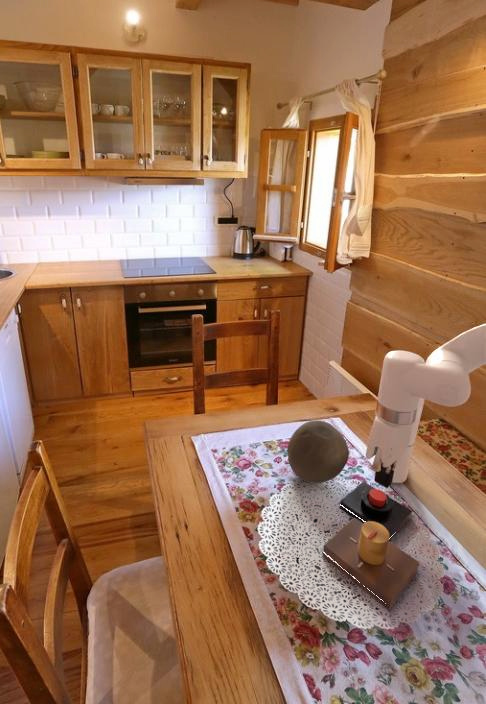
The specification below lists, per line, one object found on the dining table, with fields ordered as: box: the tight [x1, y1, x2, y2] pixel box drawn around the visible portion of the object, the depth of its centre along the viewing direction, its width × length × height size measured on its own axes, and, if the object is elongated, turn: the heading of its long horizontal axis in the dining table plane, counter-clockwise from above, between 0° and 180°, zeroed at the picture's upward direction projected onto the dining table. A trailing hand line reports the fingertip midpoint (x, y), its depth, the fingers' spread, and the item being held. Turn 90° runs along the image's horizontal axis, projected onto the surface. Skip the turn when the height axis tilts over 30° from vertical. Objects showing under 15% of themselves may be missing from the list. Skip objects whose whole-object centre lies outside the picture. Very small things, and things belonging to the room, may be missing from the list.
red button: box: [368, 488, 387, 507], centre depth 90 cm, size 4×4×2 cm
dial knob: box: [357, 521, 390, 565], centre depth 78 cm, size 5×5×6 cm
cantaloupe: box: [286, 419, 350, 484], centre depth 100 cm, size 14×14×15 cm
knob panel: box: [321, 518, 420, 611], centre depth 79 cm, size 14×11×3 cm
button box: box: [338, 481, 413, 542], centre depth 91 cm, size 12×10×4 cm
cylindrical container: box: [392, 397, 426, 484], centre depth 101 cm, size 7×7×25 cm
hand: (382, 483), depth 89 cm, fingers closed
